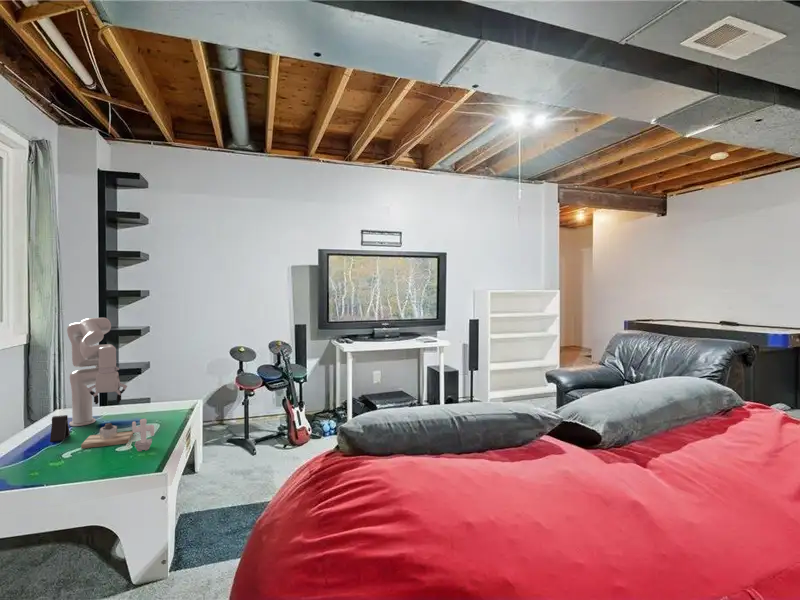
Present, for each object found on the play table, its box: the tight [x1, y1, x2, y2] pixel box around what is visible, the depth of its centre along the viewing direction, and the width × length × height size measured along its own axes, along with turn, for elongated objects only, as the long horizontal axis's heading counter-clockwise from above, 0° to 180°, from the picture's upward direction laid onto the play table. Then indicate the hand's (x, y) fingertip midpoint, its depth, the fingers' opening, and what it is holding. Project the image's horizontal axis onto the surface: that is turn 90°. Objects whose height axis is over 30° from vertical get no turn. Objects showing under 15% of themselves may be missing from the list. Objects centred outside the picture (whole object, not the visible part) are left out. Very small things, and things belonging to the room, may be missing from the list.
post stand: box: [80, 422, 135, 449], centre depth 224 cm, size 14×20×9 cm
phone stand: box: [49, 414, 71, 442], centre depth 228 cm, size 9×6×12 cm, turn 21°
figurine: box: [131, 418, 155, 452], centre depth 213 cm, size 7×9×15 cm
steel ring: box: [99, 425, 118, 440], centre depth 224 cm, size 7×7×5 cm
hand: (107, 402), depth 224 cm, fingers open, 9 cm apart
